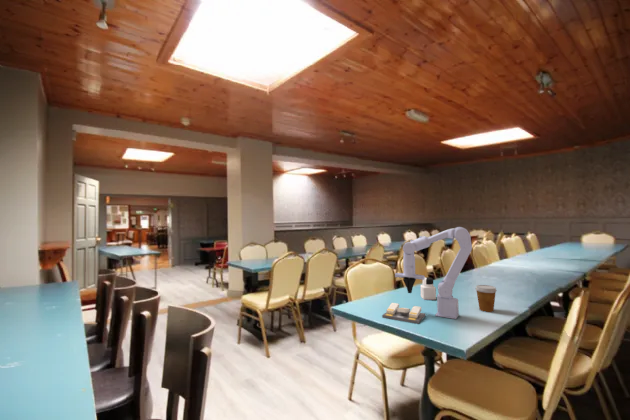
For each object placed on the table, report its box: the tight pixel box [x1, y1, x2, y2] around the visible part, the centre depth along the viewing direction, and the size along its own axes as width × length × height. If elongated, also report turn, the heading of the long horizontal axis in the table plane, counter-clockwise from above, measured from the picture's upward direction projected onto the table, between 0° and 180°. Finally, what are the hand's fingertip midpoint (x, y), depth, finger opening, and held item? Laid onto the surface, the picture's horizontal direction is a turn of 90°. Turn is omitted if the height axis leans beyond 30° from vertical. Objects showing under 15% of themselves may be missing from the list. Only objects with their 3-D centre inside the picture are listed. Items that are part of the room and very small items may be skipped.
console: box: [381, 309, 426, 325], centre depth 151 cm, size 17×13×2 cm
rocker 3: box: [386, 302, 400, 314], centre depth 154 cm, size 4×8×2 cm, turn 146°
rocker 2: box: [397, 307, 411, 313], centre depth 151 cm, size 4×8×2 cm, turn 146°
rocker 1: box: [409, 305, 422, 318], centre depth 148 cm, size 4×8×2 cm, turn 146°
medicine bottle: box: [420, 276, 437, 301], centre depth 184 cm, size 7×7×12 cm
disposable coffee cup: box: [475, 284, 497, 313], centre depth 159 cm, size 10×10×12 cm
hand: (409, 292), depth 158 cm, fingers closed
